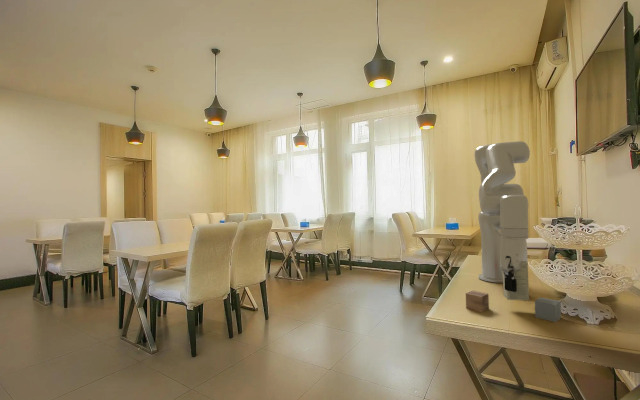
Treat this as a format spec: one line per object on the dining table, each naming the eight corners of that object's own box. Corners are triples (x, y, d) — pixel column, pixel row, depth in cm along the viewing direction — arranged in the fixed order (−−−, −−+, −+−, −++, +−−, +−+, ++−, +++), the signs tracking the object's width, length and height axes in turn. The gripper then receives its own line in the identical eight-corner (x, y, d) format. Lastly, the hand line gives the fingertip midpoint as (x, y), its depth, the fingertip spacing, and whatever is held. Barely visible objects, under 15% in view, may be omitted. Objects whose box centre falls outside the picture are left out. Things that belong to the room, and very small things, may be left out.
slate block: (541, 313, 93) (540, 297, 93) (560, 318, 89) (560, 301, 89) (535, 317, 90) (534, 300, 90) (555, 322, 86) (555, 305, 86)
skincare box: (524, 296, 98) (523, 259, 97) (529, 301, 93) (528, 262, 93) (502, 295, 99) (501, 258, 99) (506, 300, 95) (505, 261, 95)
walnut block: (473, 305, 102) (473, 290, 102) (488, 309, 98) (488, 293, 98) (466, 308, 99) (465, 293, 99) (481, 312, 95) (481, 296, 95)
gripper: (512, 229, 104) (513, 280, 104) (489, 235, 94) (491, 291, 94) (537, 231, 98) (538, 285, 99) (516, 237, 88) (518, 297, 88)
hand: (515, 287), depth 96 cm, fingers closed on skincare box, 6 cm apart
